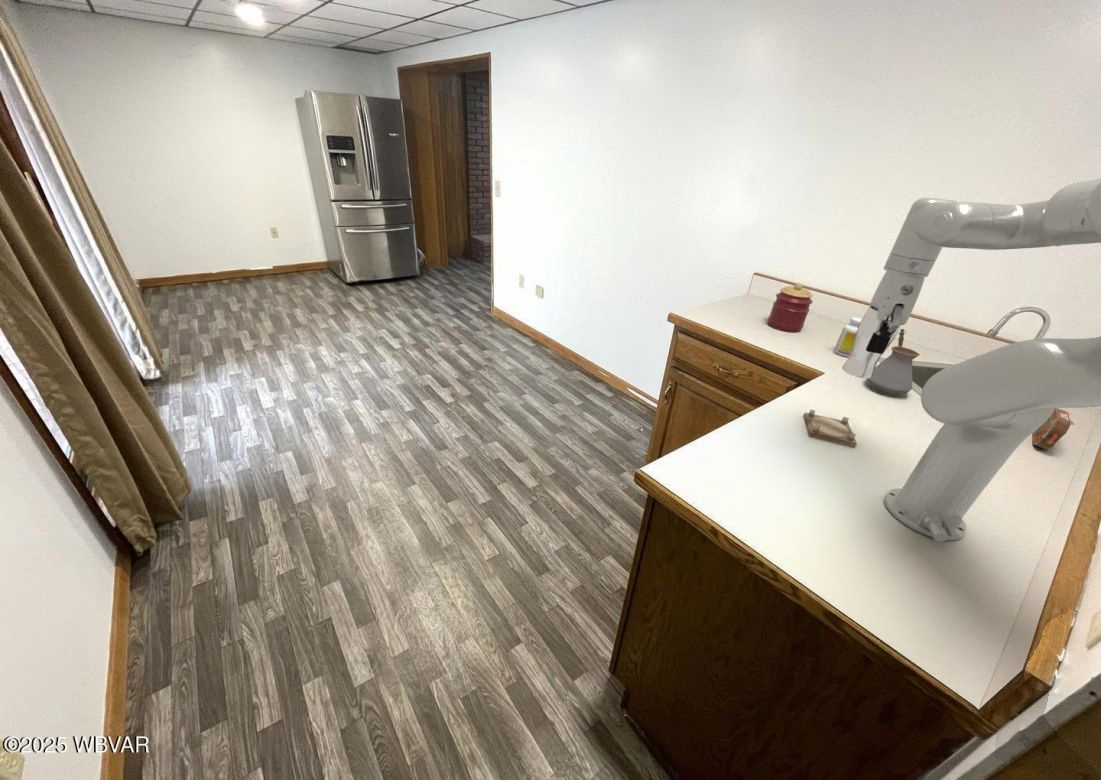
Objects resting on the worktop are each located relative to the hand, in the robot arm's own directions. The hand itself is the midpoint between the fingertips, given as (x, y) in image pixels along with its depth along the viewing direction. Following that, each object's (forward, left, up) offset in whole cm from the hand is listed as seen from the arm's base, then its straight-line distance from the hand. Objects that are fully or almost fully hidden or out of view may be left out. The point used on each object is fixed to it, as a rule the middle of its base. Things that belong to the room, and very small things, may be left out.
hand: (869, 345), depth 96 cm
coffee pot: (+39, -22, -24) cm, 51 cm away
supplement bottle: (+59, -14, -24) cm, 65 cm away
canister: (+78, +4, -24) cm, 82 cm away
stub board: (0, 0, -23) cm, 23 cm away
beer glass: (0, 0, -7) cm, 7 cm away
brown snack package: (+21, -52, -24) cm, 61 cm away
